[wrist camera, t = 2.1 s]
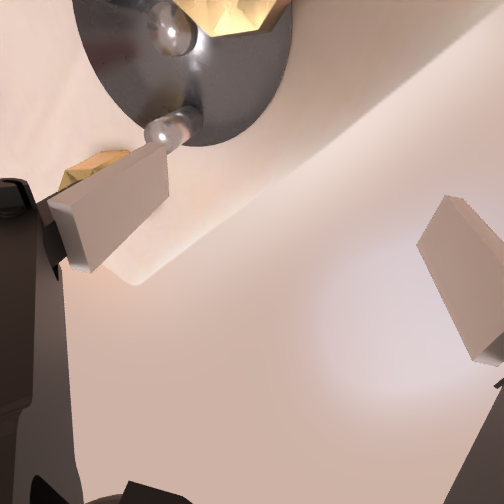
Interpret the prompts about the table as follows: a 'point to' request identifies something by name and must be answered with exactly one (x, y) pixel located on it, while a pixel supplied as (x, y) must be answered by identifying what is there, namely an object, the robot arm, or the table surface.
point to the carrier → (181, 69)
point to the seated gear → (234, 15)
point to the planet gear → (90, 166)
